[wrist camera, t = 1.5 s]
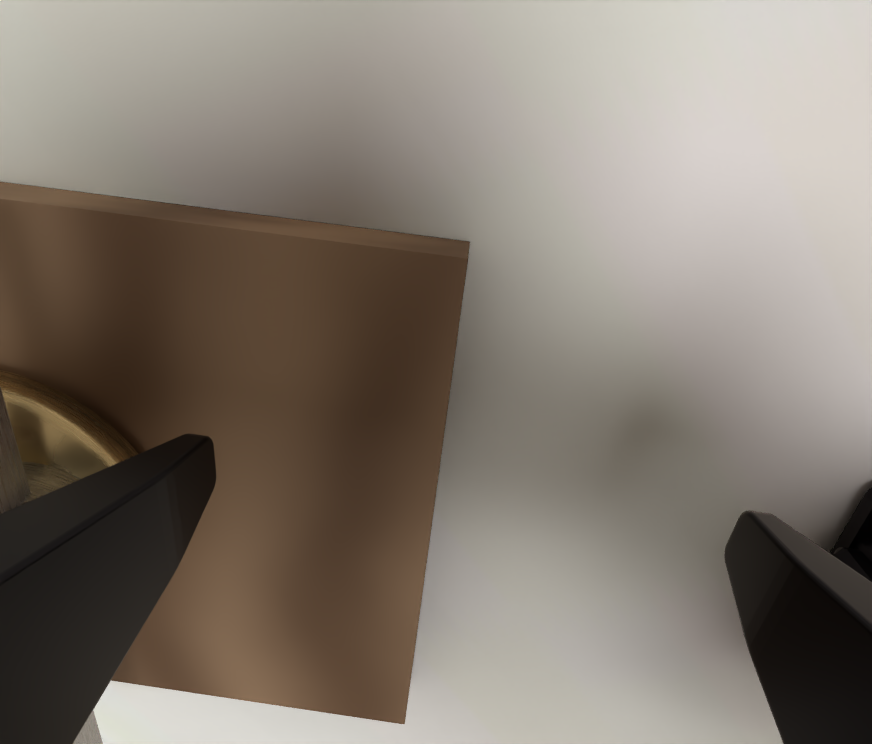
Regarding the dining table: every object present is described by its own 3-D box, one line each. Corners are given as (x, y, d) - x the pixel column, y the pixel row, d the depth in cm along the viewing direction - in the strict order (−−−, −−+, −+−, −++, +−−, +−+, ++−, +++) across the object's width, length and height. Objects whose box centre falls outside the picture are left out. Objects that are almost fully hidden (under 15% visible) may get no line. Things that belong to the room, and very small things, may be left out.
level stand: (469, 241, 13) (465, 280, 10) (409, 682, 20) (398, 773, 17) (-201, 156, 13) (-381, 170, 10) (-20, 618, 20) (-98, 698, 17)
